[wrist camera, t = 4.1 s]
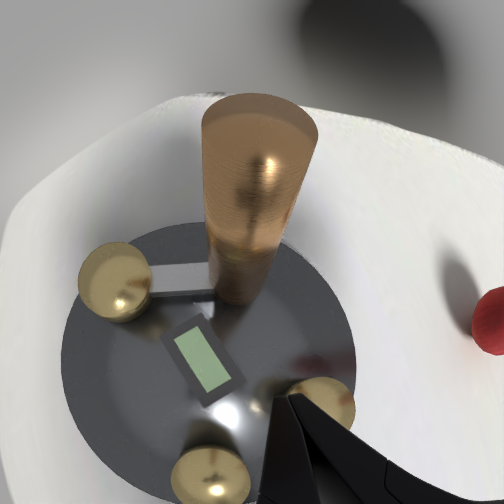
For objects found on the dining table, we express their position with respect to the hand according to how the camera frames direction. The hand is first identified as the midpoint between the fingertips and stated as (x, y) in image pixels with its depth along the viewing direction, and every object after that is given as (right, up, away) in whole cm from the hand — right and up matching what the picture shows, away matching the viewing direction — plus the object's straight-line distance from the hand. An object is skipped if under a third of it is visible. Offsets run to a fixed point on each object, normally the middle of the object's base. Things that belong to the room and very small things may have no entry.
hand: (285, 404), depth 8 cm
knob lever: (-6, +2, +12) cm, 13 cm away
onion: (+20, -3, +14) cm, 24 cm away
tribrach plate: (-4, -3, +11) cm, 12 cm away
